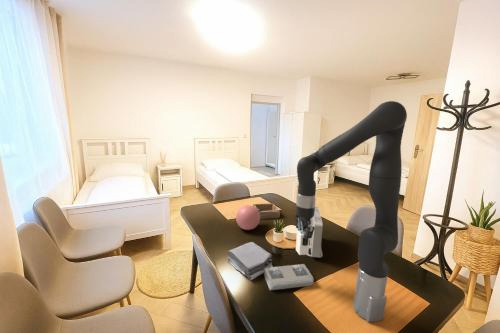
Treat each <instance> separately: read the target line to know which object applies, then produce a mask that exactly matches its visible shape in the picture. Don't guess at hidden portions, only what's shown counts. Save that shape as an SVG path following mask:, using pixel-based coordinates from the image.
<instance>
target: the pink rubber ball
mask: <svg viewBox="0 0 500 333" xmlns="http://www.w3.org/2000/svg"><path fill="white" fill-rule="evenodd" d="M259 210H260V209H257V208H255V207H253V205H249V204H247V205H243V206H240V208H239V209H238V210H237V212H236V214H235V220H236V224H237V225H238V226H239V227H240V228H241V229H242V230H246V231H250V230H251V231H252V230H254V229H255V228H257V226H258V225H260V222H261V219H260V214H259V212H260V211H261V210H260V211H259Z"/></svg>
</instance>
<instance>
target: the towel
mask: <svg viewBox="0 0 500 333" xmlns="http://www.w3.org/2000/svg"><path fill="white" fill-rule="evenodd" d="M227 256H228V257H227V261H228V262H229V263H230V265H232V266H233V267H234V269H236V270H237V271H238V272H240V273H241V274H243V275H244V276H246V278H247V279H248V280H249V281H251V280H254V279H256V278H257V277H258V276H261V275H262V274H263V275H264V268H269V267H274V266H273V264H272V262H273V259H272V254H271V253H270V252H268V251H266V250H265V249H264V248H263V247H261V246H259V245H257V244H256V243H255V242H253V241H250V242H246V243H244V244H242V245H240V246H238V247H235V248H232V249H229V250H228V251H227Z"/></svg>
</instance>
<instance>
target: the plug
mask: <svg viewBox="0 0 500 333" xmlns="http://www.w3.org/2000/svg"><path fill="white" fill-rule="evenodd" d="M305 234H306V232H305ZM302 241H303V232H302V231H301V230H300V231H298V230H297V231H296V242H295V251H296V252H297V254H298V255H299V256H305V255H306V256H307V254H309V250H310V249H309V245H310V238H308V245H307V246H303V245H302Z"/></svg>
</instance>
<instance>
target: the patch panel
mask: <svg viewBox="0 0 500 333" xmlns="http://www.w3.org/2000/svg"><path fill="white" fill-rule="evenodd" d="M263 276H264V279H265V282H266V284H267V286H268V290H269V291H276V290H285V289H286V290H287V289H293V288H300V287H308V286H309V287H310V286H314V276H313V275H312V273H311V272H310V270H309V269H308V267H307V266H306V265H305V263H302V264H301V263H300V264H299V263H298V264H291V265H290V264H288V265H282V266H280V265H279V266H273V267H269V268H264V273H263Z"/></svg>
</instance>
